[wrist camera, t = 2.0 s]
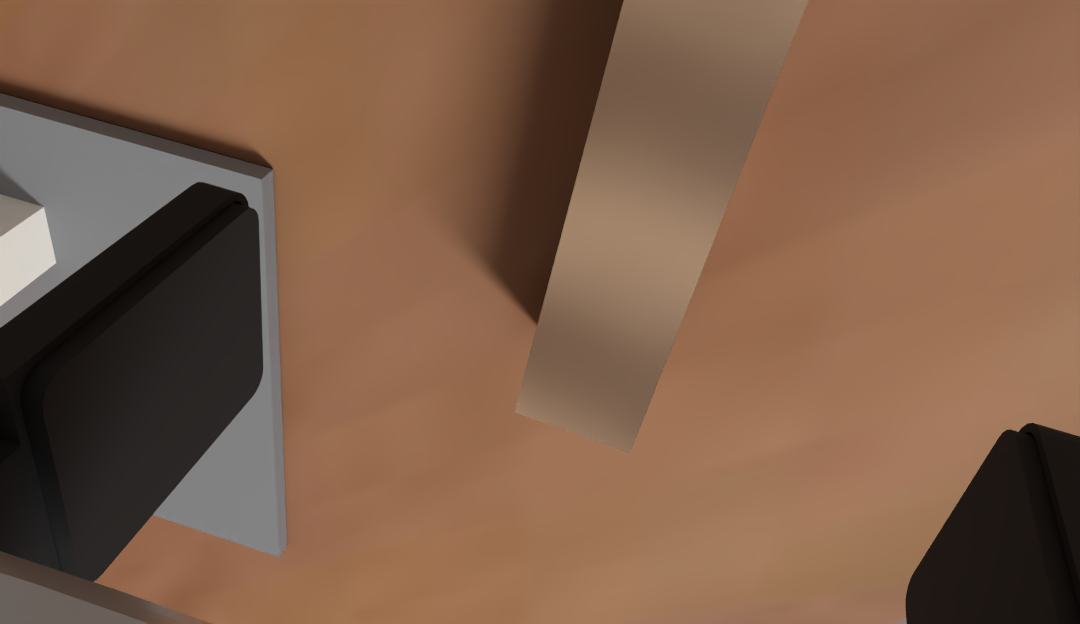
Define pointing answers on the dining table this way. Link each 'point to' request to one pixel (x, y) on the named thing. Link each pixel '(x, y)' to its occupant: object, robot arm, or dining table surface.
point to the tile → (22, 245)
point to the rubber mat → (106, 216)
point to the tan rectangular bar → (649, 203)
